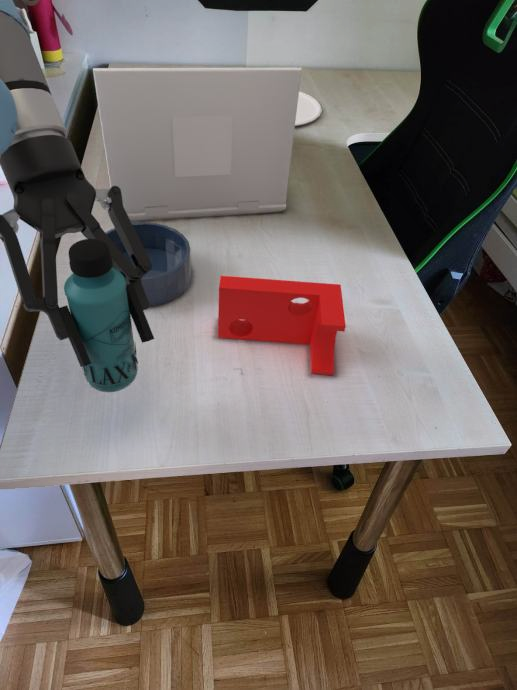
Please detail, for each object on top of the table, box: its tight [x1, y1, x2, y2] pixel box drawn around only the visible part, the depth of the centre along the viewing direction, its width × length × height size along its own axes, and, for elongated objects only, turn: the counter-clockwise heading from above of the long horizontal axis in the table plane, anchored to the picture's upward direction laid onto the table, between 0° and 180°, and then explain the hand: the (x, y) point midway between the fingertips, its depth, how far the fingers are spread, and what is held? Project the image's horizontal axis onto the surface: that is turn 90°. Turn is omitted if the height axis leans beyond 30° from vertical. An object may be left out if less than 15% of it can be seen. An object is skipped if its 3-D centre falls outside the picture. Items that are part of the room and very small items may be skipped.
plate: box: [295, 90, 323, 127], centre depth 147 cm, size 29×29×1 cm
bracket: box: [217, 275, 347, 376], centre depth 78 cm, size 18×10×10 cm
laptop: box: [92, 66, 303, 222], centre depth 104 cm, size 35×26×28 cm
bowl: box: [105, 221, 192, 308], centre depth 89 cm, size 16×16×6 cm
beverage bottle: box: [63, 238, 139, 393], centre depth 57 cm, size 6×7×20 cm
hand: (117, 352), depth 56 cm, fingers closed on beverage bottle, 6 cm apart
